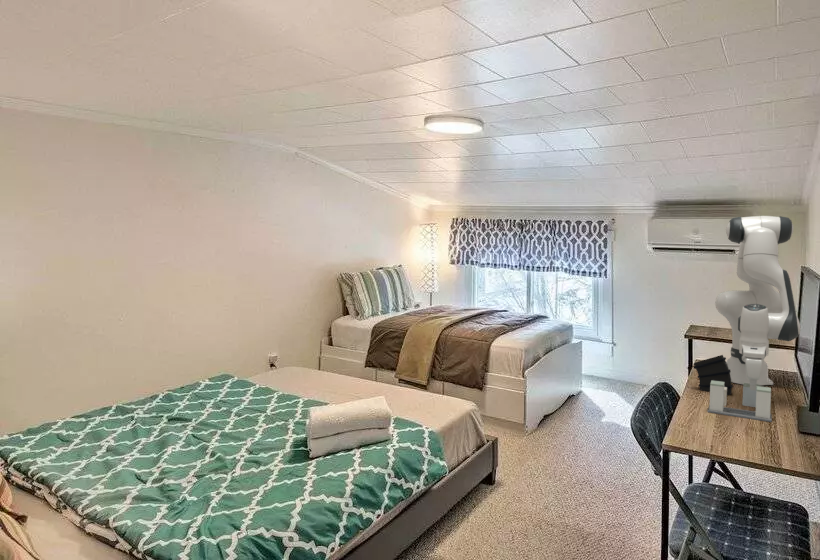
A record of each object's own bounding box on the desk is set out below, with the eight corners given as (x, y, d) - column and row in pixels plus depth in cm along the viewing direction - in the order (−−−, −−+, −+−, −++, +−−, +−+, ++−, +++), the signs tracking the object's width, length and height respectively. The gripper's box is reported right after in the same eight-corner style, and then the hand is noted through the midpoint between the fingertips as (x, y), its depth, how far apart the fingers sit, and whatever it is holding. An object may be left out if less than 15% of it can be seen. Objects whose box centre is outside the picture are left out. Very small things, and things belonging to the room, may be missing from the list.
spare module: (710, 403, 190) (710, 387, 189) (710, 400, 193) (711, 385, 193) (725, 406, 187) (726, 389, 187) (726, 403, 190) (727, 387, 190)
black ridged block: (740, 392, 197) (721, 355, 200) (704, 401, 205) (687, 365, 209) (741, 390, 200) (723, 354, 203) (706, 399, 208) (690, 363, 211)
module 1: (709, 410, 181) (710, 383, 180) (710, 406, 185) (711, 380, 184) (722, 412, 179) (723, 385, 178) (723, 408, 183) (724, 381, 182)
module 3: (755, 417, 173) (756, 389, 173) (755, 413, 177) (756, 386, 177) (769, 419, 171) (771, 391, 170) (769, 415, 175) (770, 387, 174)
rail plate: (707, 412, 180) (707, 409, 180) (709, 406, 186) (709, 404, 186) (771, 422, 170) (771, 419, 170) (771, 416, 176) (771, 413, 176)
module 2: (742, 405, 188) (743, 385, 187) (742, 402, 191) (743, 382, 190) (758, 407, 185) (759, 387, 184) (758, 404, 188) (759, 384, 187)
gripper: (743, 344, 196) (742, 379, 197) (743, 352, 179) (742, 391, 180) (763, 345, 193) (762, 382, 193) (765, 354, 176) (763, 394, 176)
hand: (752, 386), depth 186 cm, fingers open, 8 cm apart
